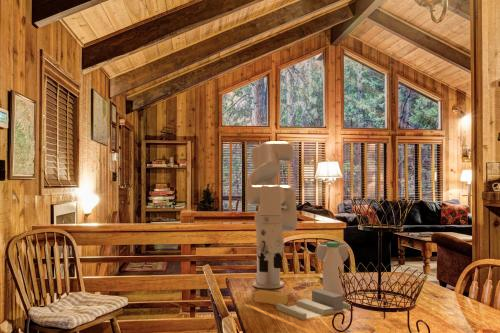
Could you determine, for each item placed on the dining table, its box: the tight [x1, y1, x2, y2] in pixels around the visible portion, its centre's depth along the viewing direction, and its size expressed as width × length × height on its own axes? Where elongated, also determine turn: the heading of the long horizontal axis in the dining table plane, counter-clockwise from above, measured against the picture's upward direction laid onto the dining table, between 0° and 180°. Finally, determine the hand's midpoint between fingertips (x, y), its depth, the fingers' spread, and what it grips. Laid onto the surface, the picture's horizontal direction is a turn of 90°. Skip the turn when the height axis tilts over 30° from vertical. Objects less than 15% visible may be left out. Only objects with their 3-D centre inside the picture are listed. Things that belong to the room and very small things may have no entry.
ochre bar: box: [254, 289, 289, 306], centre depth 164 cm, size 11×4×4 cm, turn 57°
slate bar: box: [311, 288, 344, 311], centre depth 158 cm, size 11×4×4 cm, turn 32°
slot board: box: [275, 298, 351, 321], centre depth 155 cm, size 14×21×3 cm, turn 122°
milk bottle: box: [322, 241, 345, 296], centre depth 177 cm, size 8×8×20 cm
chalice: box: [316, 241, 349, 280], centre depth 209 cm, size 14×14×15 cm
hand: (270, 270), depth 163 cm, fingers open, 9 cm apart
